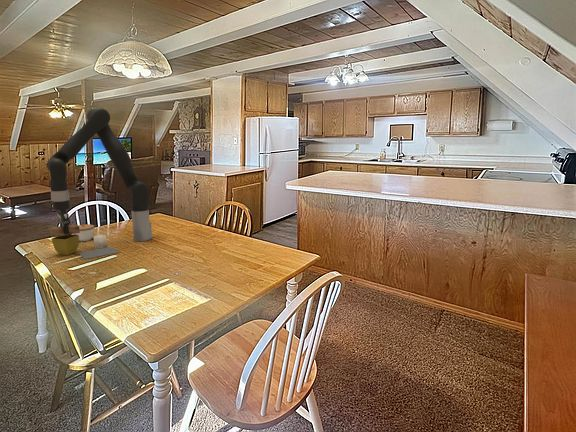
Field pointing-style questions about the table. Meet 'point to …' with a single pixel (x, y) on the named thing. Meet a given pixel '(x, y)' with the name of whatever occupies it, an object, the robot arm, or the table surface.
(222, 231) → the table surface
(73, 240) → the flower pot
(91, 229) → the lidded jar
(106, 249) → the mat
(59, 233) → the lid
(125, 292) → the table surface
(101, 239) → the cream rounded block
